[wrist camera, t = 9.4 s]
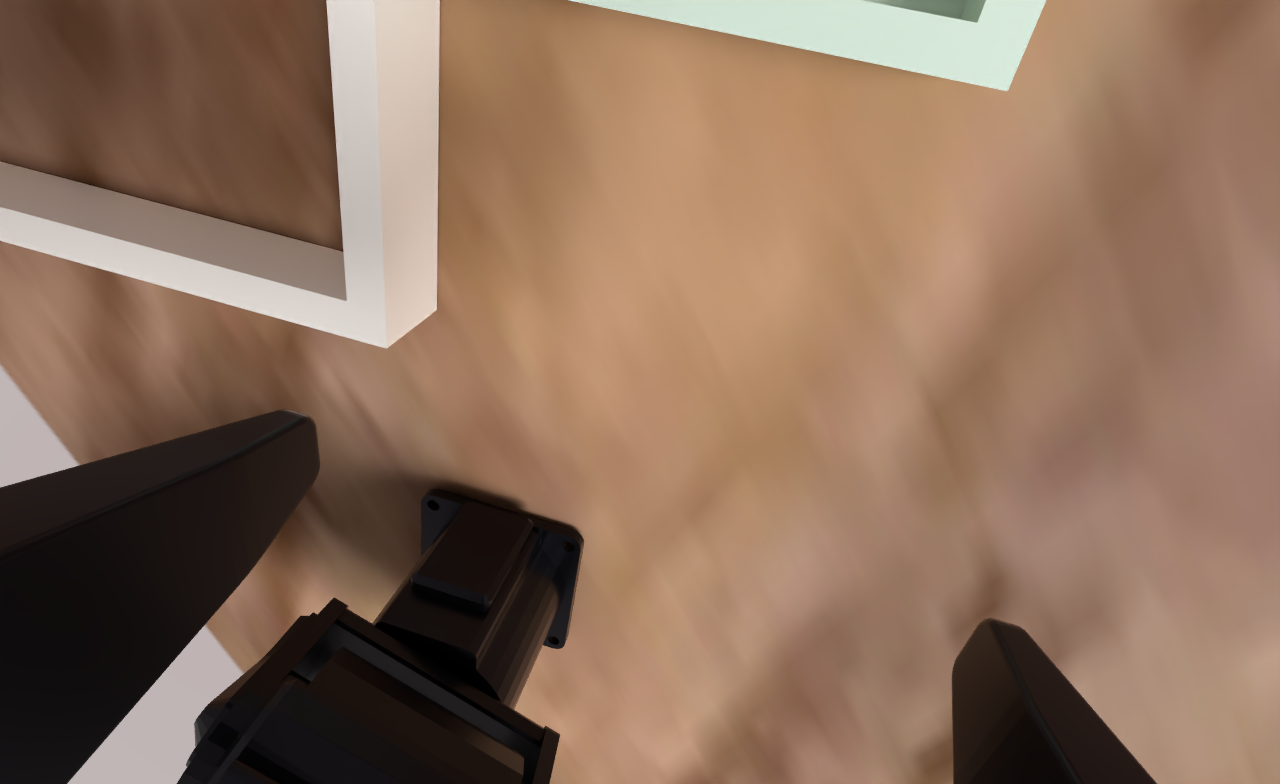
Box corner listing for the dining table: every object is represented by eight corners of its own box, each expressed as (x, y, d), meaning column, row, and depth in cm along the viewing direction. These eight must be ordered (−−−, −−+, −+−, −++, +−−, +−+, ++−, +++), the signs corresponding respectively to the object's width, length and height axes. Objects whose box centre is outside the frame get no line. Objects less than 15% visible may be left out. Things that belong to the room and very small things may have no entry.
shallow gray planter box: (436, 310, 22) (386, 348, 20) (-69, 173, 24) (-173, 192, 22) (441, -168, 16) (367, -202, 13) (-248, -292, 18) (-425, -343, 15)
